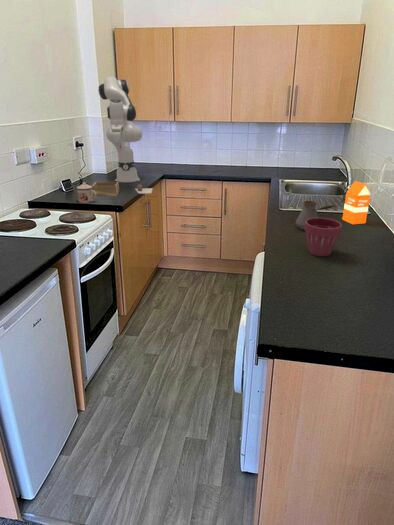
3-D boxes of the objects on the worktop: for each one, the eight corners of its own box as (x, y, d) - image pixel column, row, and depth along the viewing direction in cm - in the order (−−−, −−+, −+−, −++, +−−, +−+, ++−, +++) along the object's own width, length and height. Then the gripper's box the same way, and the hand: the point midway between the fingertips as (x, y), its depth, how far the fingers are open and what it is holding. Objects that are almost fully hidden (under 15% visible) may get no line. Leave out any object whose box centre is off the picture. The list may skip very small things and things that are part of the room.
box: (96, 192, 258) (95, 182, 256) (119, 192, 259) (118, 181, 257) (92, 197, 247) (91, 186, 244) (116, 196, 247) (115, 185, 245)
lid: (129, 190, 269) (128, 182, 267) (152, 189, 270) (152, 182, 268) (127, 194, 256) (126, 187, 254) (151, 194, 257) (151, 186, 255)
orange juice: (352, 224, 196) (359, 184, 188) (341, 219, 204) (347, 181, 196) (365, 223, 198) (372, 183, 190) (354, 218, 206) (361, 180, 198)
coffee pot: (290, 226, 192) (293, 196, 186) (308, 223, 197) (311, 194, 191) (320, 239, 175) (325, 207, 169) (339, 236, 179) (344, 204, 174)
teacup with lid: (75, 203, 233) (72, 183, 228) (83, 199, 241) (81, 180, 236) (92, 204, 229) (90, 185, 225) (100, 201, 237) (99, 182, 233)
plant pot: (336, 261, 152) (341, 229, 147) (299, 255, 157) (303, 225, 152) (338, 248, 164) (343, 219, 159) (304, 244, 169) (307, 215, 164)
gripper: (114, 125, 258) (116, 147, 263) (110, 128, 239) (112, 151, 245) (124, 125, 258) (125, 147, 264) (121, 128, 240) (122, 151, 245)
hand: (119, 149), depth 254 cm, fingers open, 8 cm apart
